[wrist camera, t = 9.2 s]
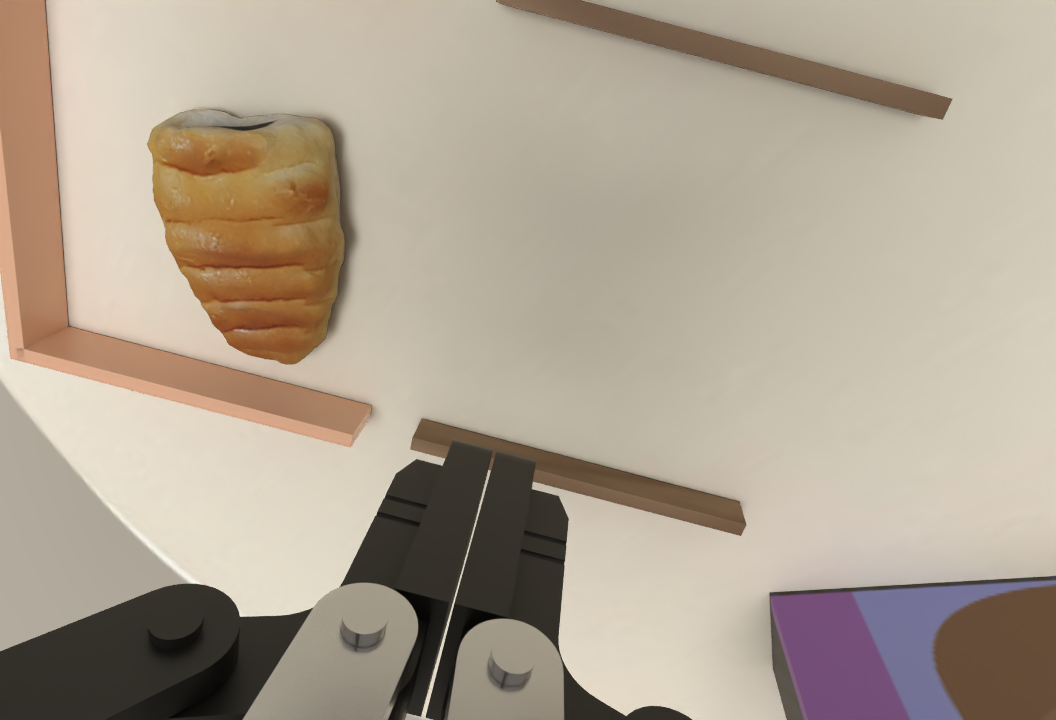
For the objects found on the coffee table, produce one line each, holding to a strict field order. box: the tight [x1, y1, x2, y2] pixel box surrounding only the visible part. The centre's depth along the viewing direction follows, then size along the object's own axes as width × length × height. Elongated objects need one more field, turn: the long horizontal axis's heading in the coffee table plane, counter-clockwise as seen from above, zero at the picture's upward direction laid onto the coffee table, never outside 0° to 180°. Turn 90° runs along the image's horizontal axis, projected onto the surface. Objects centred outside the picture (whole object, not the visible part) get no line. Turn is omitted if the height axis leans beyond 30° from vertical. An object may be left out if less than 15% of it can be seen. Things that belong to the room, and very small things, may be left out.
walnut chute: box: [410, 0, 952, 536], centre depth 24 cm, size 17×14×2 cm
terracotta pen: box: [0, 0, 372, 447], centre depth 24 cm, size 17×14×2 cm
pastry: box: [147, 109, 345, 364], centre depth 24 cm, size 9×7×4 cm
